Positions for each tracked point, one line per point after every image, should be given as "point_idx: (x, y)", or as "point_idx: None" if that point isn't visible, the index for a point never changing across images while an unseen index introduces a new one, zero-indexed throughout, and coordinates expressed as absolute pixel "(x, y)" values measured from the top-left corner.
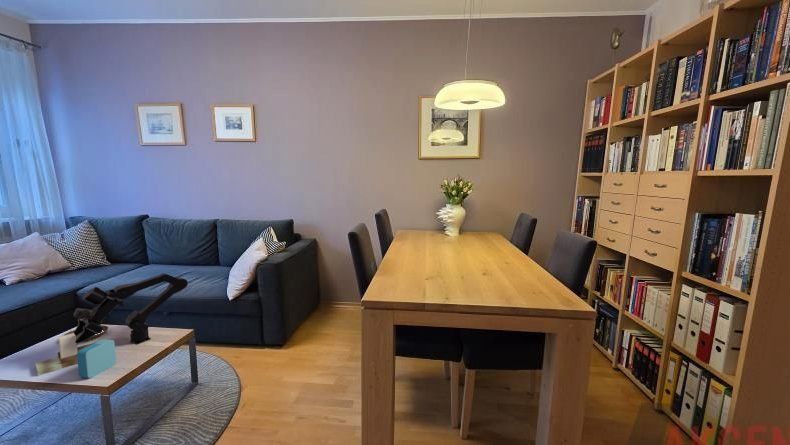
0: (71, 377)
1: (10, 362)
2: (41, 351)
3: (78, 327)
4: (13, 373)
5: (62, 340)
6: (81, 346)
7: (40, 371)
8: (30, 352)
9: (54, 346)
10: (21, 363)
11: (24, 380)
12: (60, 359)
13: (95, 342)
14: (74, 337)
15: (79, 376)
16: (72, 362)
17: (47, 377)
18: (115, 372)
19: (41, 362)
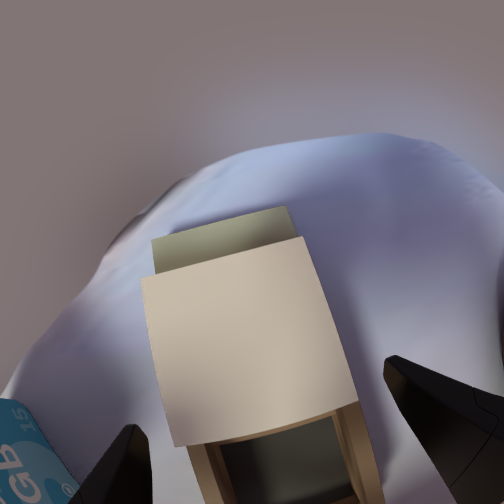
0: (47, 379)
1: (392, 139)
2: (463, 208)
3: (466, 428)
4: (267, 161)
5: (148, 306)
6: (352, 418)
7: (154, 251)
8: (461, 178)
9: (495, 242)
10: (367, 165)
11: (151, 213)
12: None
13: (373, 488)
14: (176, 429)
15: (16, 401)
16: None
17: (111, 292)
18: None
19: (274, 230)
